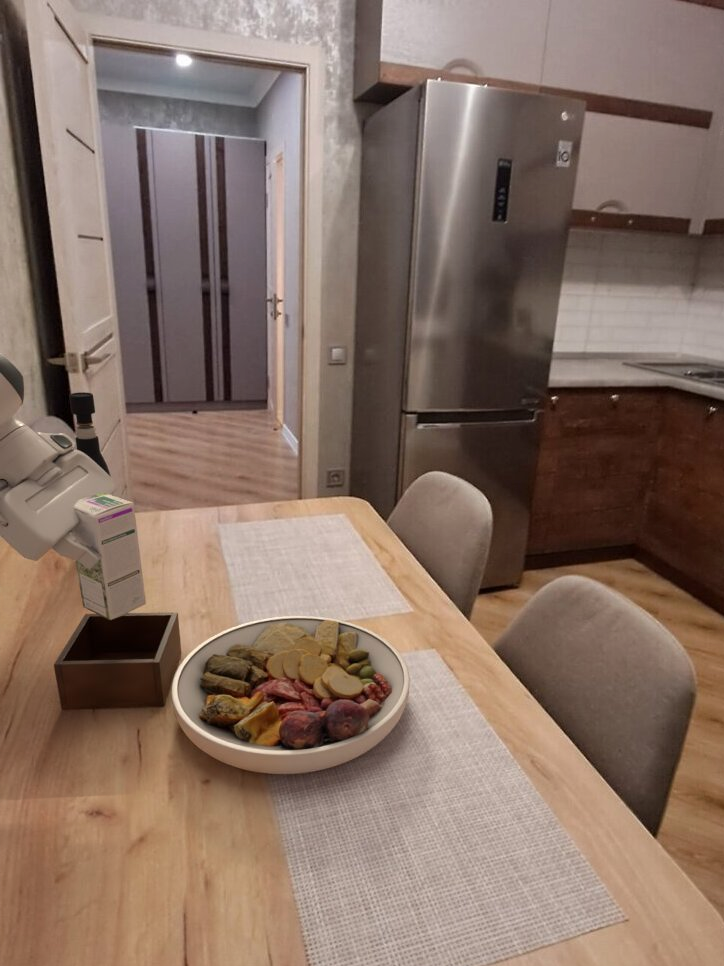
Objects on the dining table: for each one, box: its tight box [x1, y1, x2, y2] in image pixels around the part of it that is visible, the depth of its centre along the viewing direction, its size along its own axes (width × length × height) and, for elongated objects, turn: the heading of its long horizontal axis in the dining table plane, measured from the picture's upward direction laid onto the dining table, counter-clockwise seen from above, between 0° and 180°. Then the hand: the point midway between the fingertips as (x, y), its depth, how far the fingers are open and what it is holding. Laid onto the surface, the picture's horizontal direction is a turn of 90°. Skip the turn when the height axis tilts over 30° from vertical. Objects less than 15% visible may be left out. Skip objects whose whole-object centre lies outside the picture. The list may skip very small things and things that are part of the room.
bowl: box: [170, 615, 411, 775], centre depth 86 cm, size 30×30×8 cm
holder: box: [53, 612, 182, 711], centre depth 90 cm, size 13×13×7 cm
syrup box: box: [70, 493, 147, 620], centre depth 84 cm, size 6×6×14 cm
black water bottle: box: [68, 391, 114, 496], centre depth 123 cm, size 6×6×30 cm
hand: (111, 547), depth 83 cm, fingers closed on syrup box, 7 cm apart
